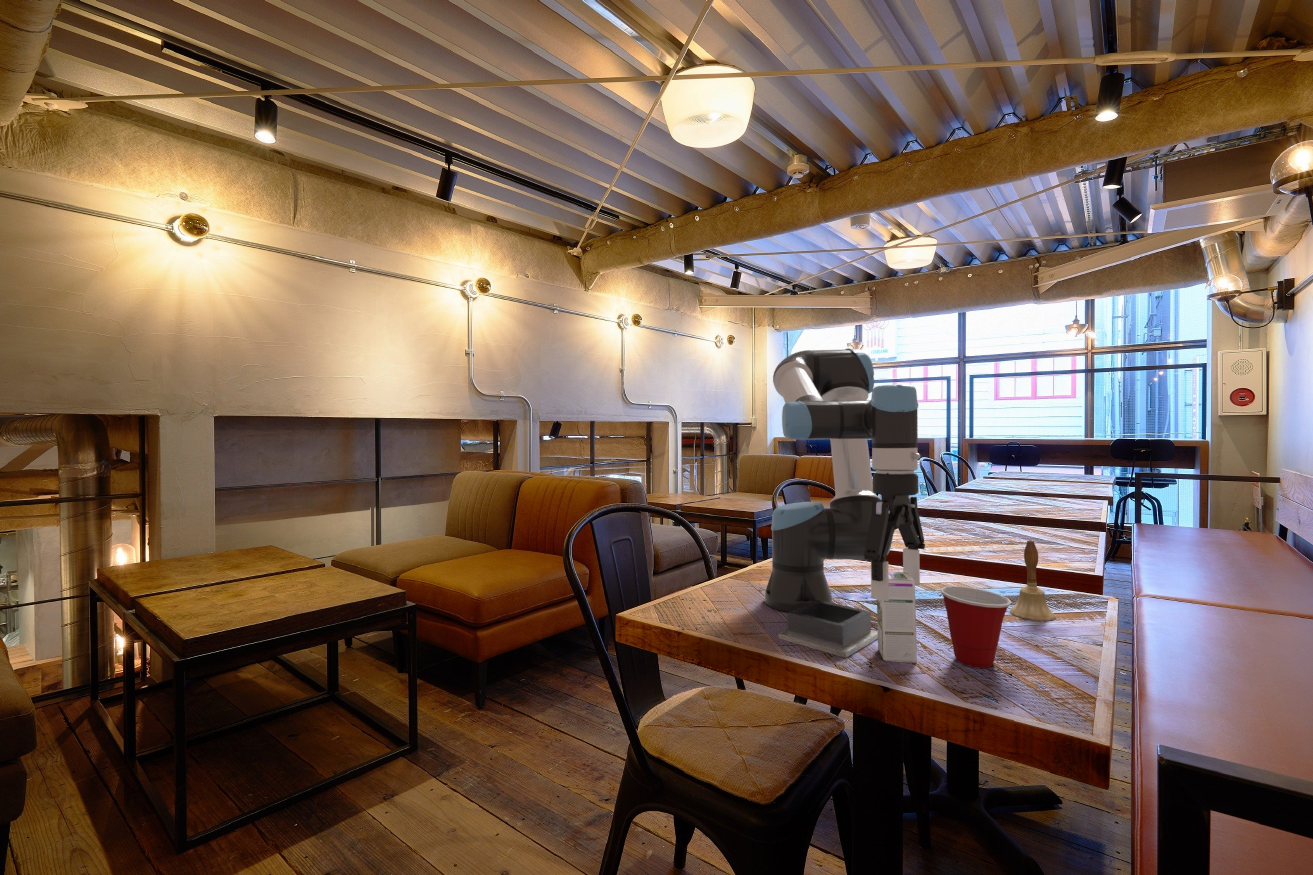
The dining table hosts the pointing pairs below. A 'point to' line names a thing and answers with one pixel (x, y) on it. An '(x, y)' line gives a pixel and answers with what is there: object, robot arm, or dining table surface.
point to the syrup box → (898, 620)
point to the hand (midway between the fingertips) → (896, 591)
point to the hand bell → (1032, 591)
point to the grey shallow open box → (830, 628)
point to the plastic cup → (974, 623)
